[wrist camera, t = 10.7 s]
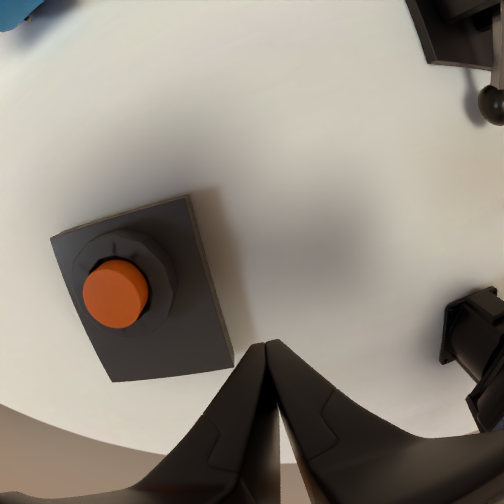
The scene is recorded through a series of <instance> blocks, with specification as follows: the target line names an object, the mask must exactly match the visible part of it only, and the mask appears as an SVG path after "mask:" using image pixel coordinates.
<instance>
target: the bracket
mask: <svg viewBox="0 0 504 504" xmlns="http://www.w3.org/2000/svg"><path fill="white" fill-rule="evenodd" d="M502 1H504V0H406V3H407V5H408V8H409V10H410V13H411V15H412V18H413V20H414V23H415V26H416V29H417V31H418V34H419V37H420V40H421V43H422V46H423V49H424V53H425V56H426V59H427V63H428V64H439V65H451V66H461V67H469V68H477V69H484V70H490V71H491V70H492V6H493V5H495V4H498V3H500V2H502Z"/></svg>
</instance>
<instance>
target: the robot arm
mask: <svg viewBox="0 0 504 504" xmlns="http://www.w3.org/2000/svg"><path fill="white" fill-rule="evenodd" d="M450 310H451V311H450ZM454 360H456V361H457V362H458V363H459V364H460V366H461V367H462V368H463V369H464V370H465V371H466V372H467V373H468V374H469V375H470V377H471V378H472V379H473V380H474V381H475V382H476V383H477V385H476V387H475V388H474V389H473V391H472V392H471V394H469V395H468V396H467V397H466V399H465V400H466V402H467V404H468V407H469V409H470V411H471V413H472V416H473V418H474V420H475V422H476V424H477V427H478V429H479V431H480V433H479V434H471V435H463V436H454V437H444V438H423V437H418V436H415V435H413V434H410V433H408V432H406V431H404V430H402V429H400V428H399V427H397V426H395V425H393V424H391V423H389V422H388V421H386V420H384V419H382V418H380V417H378V416H377V415H375V414H373V413H371V412H370V411H368V410H366V409H365V408H363V407H361V406H360V405H358V404H357V403H355V402H354V401H353V400H351V399H350V398H349V397H347V396H346V395H345V394H344V393H342V392H341V391H340V390H339V389H336V387H335V386H334V385H332V384H331V383H330V382H329V381H328V380H326V379H325V378H324V377H323V376H322V375H320V374H319V373H318V372H317V371H316V370H314V369H313V368H312V367H311V366H310V365H309V364H307V363H306V362H305V361H304V360H303V359H301V358H300V357H299V356H298V355H297V354H296V353H294V352H293V351H292V350H291V349H290V348H289V347H287V346H286V345H285V344H284V343H283V342H282V341H281V340H279V339H276V340H271V341H267V342H266V343H263V342H262V343H257V344H252V345H251V346H250V347H249V349H248V350H247V351H246V353H245V354H244V356H243V357H242V359H241V360H240V362H239V363H238V365H237V366H236V367H235V369H234V370H233V372H232V373H231V375H230V376H229V377H228V379H227V380H226V382H225V383H224V385H223V386H222V387H221V389H220V390H219V392H218V393H217V394H216V396H215V397H214V399H213V400H212V401H211V403H210V404H209V406H208V407H207V408H206V410H205V411H204V412H203V415H201V416H200V418H199V419H198V420H197V422H196V423H195V424H194V426H193V427H192V428H191V429H190V431H189V432H188V433H187V434H186V436H185V437H184V438H183V439H182V440H181V441H180V442H179V443H178V444H177V446H176V447H175V448H174V449H173V450H172V451H171V452H170V453H169V454H168V455H167V456H166V457H165V458H164V459H163V460H162V461H161V462H160V463H159V464H158V465H157V466H156V467H155V468H154V469H153V470H152V471H151V472H150V473H149V474H148V475H147V476H146V477H144V478H143V479H142V480H141V481H139V482H138V483H136V484H135V485H133V486H131V487H128V488H125V489H122V490H117V491H112V492H106V493H100V494H93V495H86V496H79V497H71V498H59V499H42V498H35V497H31V496H28V495H25V494H23V493H20V492H4V493H0V504H280V429H279V411H280V414H281V417H282V420H283V423H284V426H285V429H286V432H287V435H288V438H289V441H290V444H291V447H292V450H293V452H294V455H295V458H296V461H297V464H298V467H299V470H300V473H301V475H302V478H303V481H304V484H305V487H306V490H307V492H308V495H309V498H310V501H311V504H504V301H503V300H501V299H500V298H498V297H497V288H495V287H490V288H488V289H485V290H483V291H480V292H478V293H475V294H473V295H471V296H468V297H466V298H464V299H461V300H459V301H456V302H454V303H451V304H449V305H448V306H447V307H446V309H445V318H444V328H443V337H442V345H441V352H440V359H439V362H440V363H441V364H442V365H445V364H447V363H449V362H452V361H454ZM278 407H279V408H278Z"/></svg>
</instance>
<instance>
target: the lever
mask: <svg viewBox="0 0 504 504" xmlns="http://www.w3.org/2000/svg"><path fill="white" fill-rule="evenodd" d="M478 105H479V109H480V112H481V113H482V115H483V116H484V118H485V119H486V120H487V121H488V122H490V123H492V124H494V125H497V126H503V125H504V1H502V2H500V3H498V4H495V5H493V6H492V70H491V83H490V85H488V86H485V87H484V88H483V89H482V90H481V91H480V94H479V97H478Z"/></svg>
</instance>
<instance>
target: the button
mask: <svg viewBox="0 0 504 504" xmlns="http://www.w3.org/2000/svg"><path fill="white" fill-rule="evenodd" d="M148 295H149V289H148V284H147V281H146V279H145V277H144V275H143V274H142V272H141V271H140V270H139V269H138V268H137V267H136V266H134V265H133V264H131V263H129V262H127V261H124V260H119V259H113V260H109V261H106V262H105V263H103V264H102V265H101V266H99V267H98V268H97V269H96V270H95V271H94V272H92V273H91V274H90V275H89V276H88V277H87V279H86V281H85V283H84V286H83V299H84V302H85V305H86V307H87V309H88V311H89V312H90V314H91V315H92V316H93V317H94V318H95V319H96V320H97V321H99V322H100V323H102V324H103V325H106V326H108V327H111V328H124V327H127V326H130V325H131V324H133V323H134V322H135V321H136V320H137V318H138V316H139V315H140V313H141V311H142V310H143V308H144V306H145V305H146V303H147V300H148Z"/></svg>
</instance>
